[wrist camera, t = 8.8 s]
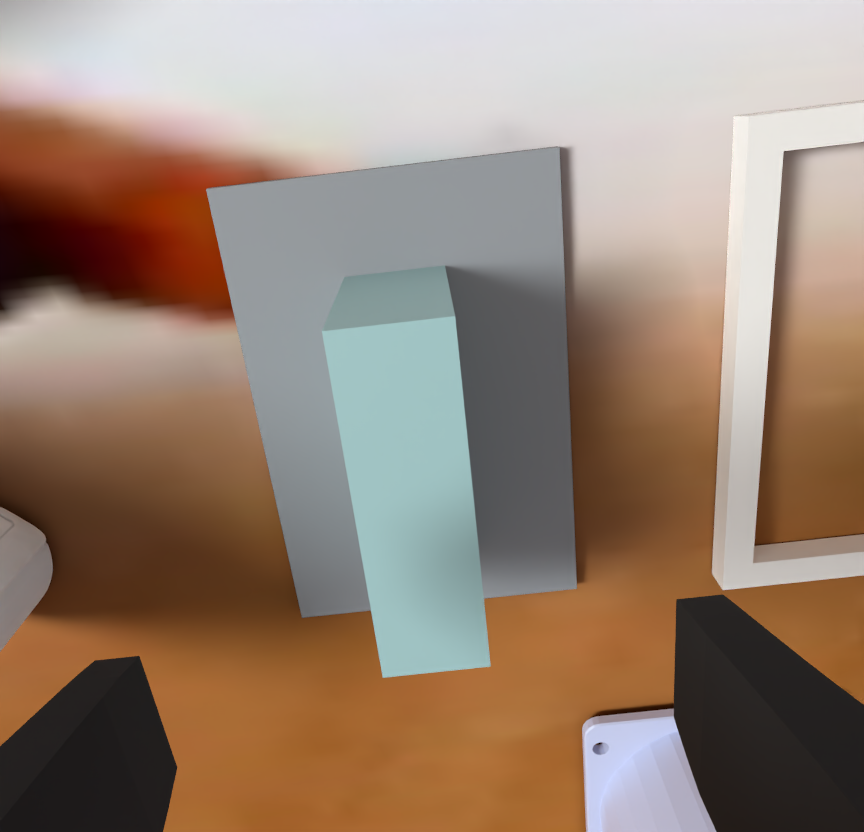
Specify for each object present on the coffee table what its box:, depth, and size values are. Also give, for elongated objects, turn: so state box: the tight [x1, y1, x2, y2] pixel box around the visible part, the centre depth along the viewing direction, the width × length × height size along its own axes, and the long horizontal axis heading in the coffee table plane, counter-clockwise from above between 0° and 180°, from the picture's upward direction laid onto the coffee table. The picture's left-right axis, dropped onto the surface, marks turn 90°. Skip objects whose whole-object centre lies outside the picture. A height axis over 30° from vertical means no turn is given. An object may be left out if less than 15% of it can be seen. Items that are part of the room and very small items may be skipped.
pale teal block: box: [322, 265, 490, 678], centre depth 17 cm, size 8×2×5 cm, turn 6°
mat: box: [206, 147, 577, 618], centre depth 19 cm, size 12×8×1 cm, turn 6°
